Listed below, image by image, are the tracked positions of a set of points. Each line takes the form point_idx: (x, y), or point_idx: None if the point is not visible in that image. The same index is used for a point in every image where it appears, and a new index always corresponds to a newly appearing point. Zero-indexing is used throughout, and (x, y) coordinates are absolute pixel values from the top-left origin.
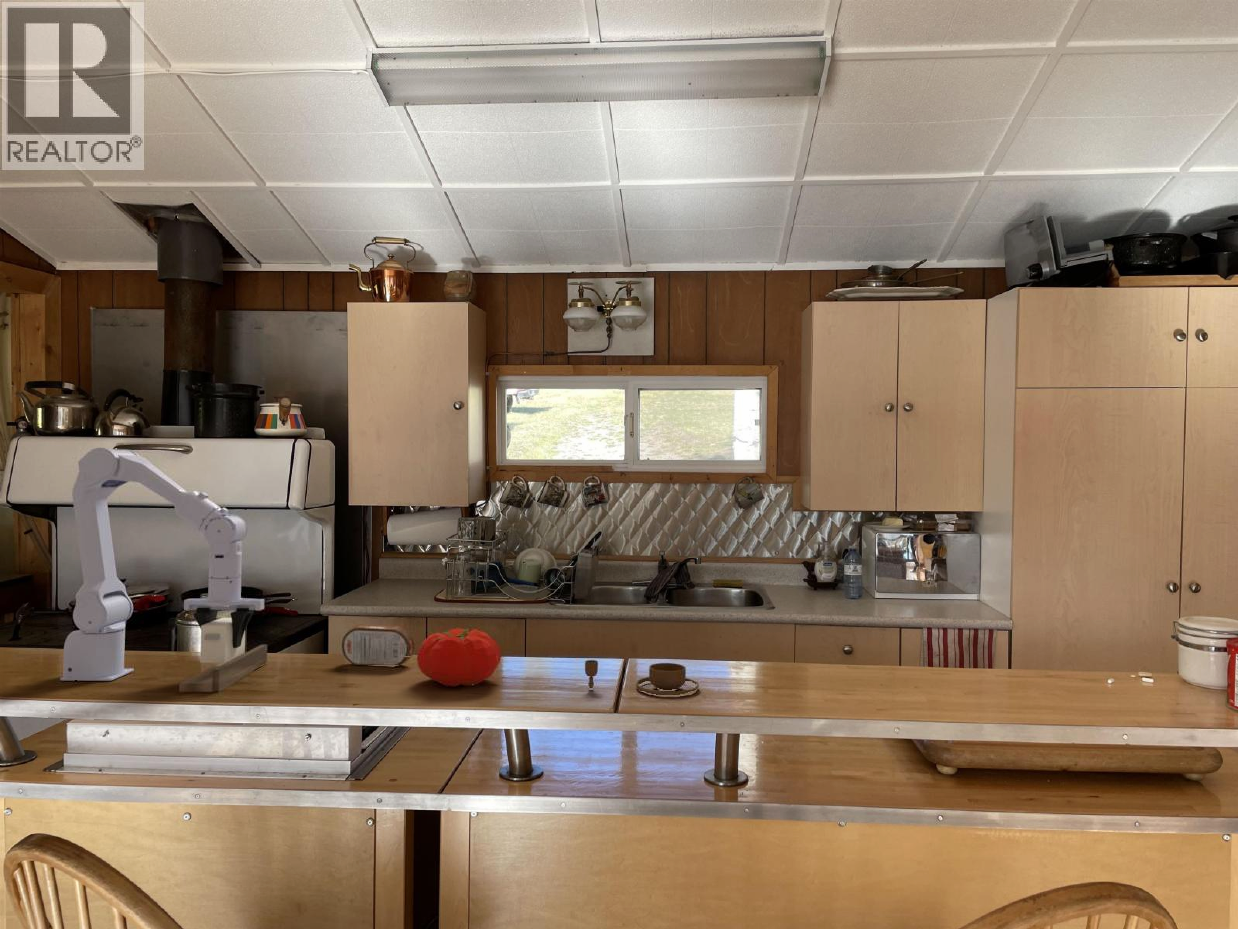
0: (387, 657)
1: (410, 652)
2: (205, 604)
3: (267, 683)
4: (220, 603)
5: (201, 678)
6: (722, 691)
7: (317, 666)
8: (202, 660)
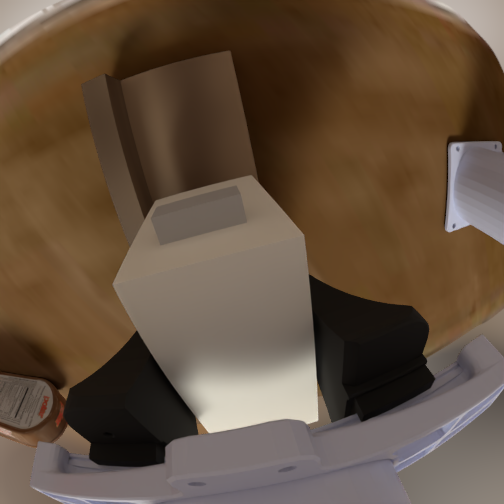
0: (1, 384)
1: None
2: (388, 421)
3: (56, 220)
4: (167, 472)
5: (202, 122)
6: None
7: (93, 370)
8: (243, 178)
